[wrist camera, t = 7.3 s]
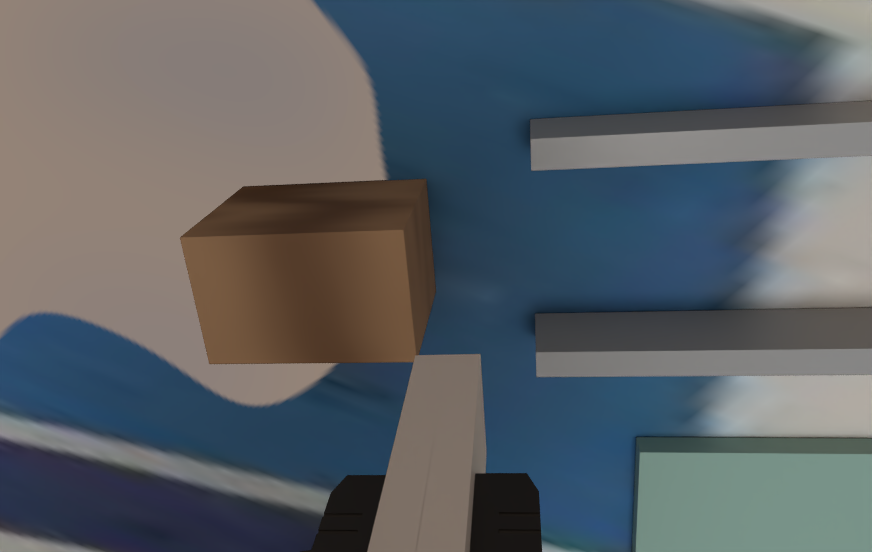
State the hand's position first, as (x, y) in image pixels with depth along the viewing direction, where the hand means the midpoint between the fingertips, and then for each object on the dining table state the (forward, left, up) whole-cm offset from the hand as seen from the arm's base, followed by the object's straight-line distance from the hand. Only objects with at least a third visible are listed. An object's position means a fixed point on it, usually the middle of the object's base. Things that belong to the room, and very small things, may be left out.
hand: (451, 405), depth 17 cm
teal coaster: (+12, -15, -11) cm, 22 cm away
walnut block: (-5, 0, -11) cm, 12 cm away
